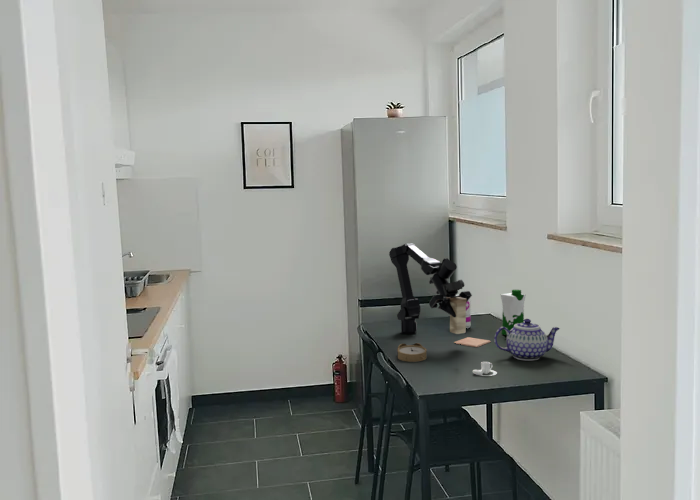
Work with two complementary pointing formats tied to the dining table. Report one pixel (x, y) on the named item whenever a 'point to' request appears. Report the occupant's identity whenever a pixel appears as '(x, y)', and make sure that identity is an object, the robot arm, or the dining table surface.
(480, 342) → the terracotta tile
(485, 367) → the teacup and saucer
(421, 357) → the alarm clock
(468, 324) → the supplement can
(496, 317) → the dining table surface
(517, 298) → the milk carton
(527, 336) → the teapot
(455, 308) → the ash post
